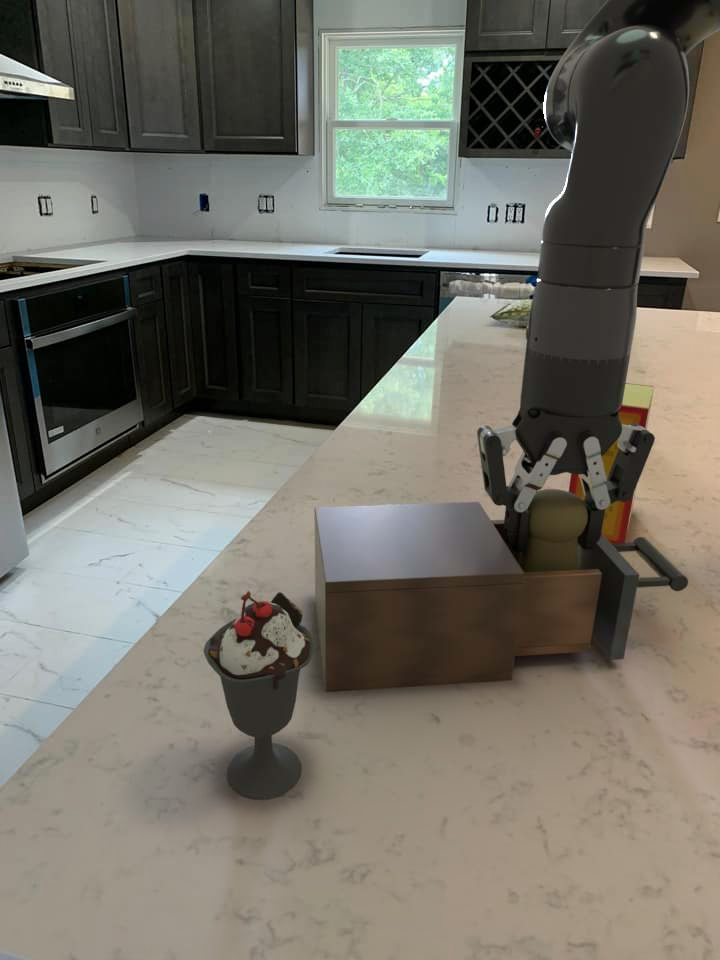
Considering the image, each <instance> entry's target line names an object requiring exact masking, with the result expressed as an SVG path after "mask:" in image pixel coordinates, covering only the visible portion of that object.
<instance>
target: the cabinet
mask: <svg viewBox="0 0 720 960" xmlns="http://www.w3.org/2000/svg"><path fill="white" fill-rule="evenodd" d="M491 520H492V519H491V518H490V517H489V515H488V514H487V512H486V511H485V509H484V508H483V506H482V504H481V503H480V501H464V502H461V501H460V502H459V501H458V502H434V503H406V504H404V503H403V504H377V505H373V504H372V505H349V506H346V505H345V506H322V507H321V506H319V507H318V506H317V507H314V596H315V597H314V603H315V613H316V622H317V629H318V639H319V647H320V656H321V666H322V674H323V683H324V692H325V693H333V692H334V693H336V692H349V691H351V692H352V691H364V690H380V689H382V690H383V689H398V688H409V687H410V688H413V687H415V688H416V687H429V686H444V685H445V686H446V685H458V684H459V685H461V684H475V683H476V684H477V683H490V682H491V683H492V682H493V683H494V682H505V681H506V682H508V681H509V682H510V681H512V680H513V675H514V666H515V659H516V656H515V651H516V643H517V634H518V626H519V617H520V609H521V601H522V592H523V583H524V574H525V573H524V572H523V570H522V568H521V567H520V565H519V564H518V562H517V561H516V559H515V557H514V556H513V554H512V553H511V551H510V550H509V548H508V547H507V545H506V543H505V542H504V540H503V539H502V537H501V536H500V534H499V533H498V531H497V529H496V528H495V526H494V525H493V523H492V522H491Z"/></svg>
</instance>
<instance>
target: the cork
mask: <svg viewBox="0 0 720 960" xmlns="http://www.w3.org/2000/svg"><path fill="white" fill-rule="evenodd" d="M527 510H528V511H529V512H530V515H529V523H528V531H527V539H526V548H525V551H524V552H521V553H520V557H519V560H518V564H519V565H520V567H521V568H522V570H523V572H543V571H564V570H578V536H580V535H581V534H582V532H583V531H584V529H585V526H586V524H587V519H588V514H587V508H586V505H585V503H584V501H583V500H582V499H581V498H580V497H578V496H576V495H575V494H573V493H570V492H569V491H567V490H563V489H558V488H557V489H556V488H544V489H539V490H538V491H537V492H536V494H535V496H534V498H533V500H532V502H531V503H530V505H529V507H528V509H527Z"/></svg>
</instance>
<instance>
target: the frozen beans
mask: <svg viewBox="0 0 720 960" xmlns="http://www.w3.org/2000/svg"><path fill="white" fill-rule="evenodd" d="M532 300H533V298H531V299H530V298H529V299H528V298H527V299H526V298H525V299H520V300H517V301H513V302H512V303H510V302H509V303H507V304H506V305H504V306H502V307H501V308H500V309H499V310H497V311H495V312H494V313H493V314H491V315H489V318H492V319H493V320H495V321H497V322H499V323H502V324H507V325H513V326H520V327H525V328H527V327H528V324H529V316H530V309H531V304H532Z"/></svg>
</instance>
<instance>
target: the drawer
mask: <svg viewBox="0 0 720 960" xmlns="http://www.w3.org/2000/svg"><path fill="white" fill-rule="evenodd" d="M490 520H491V522H492V523H493V525H494V526H495V528H496V529H497V531H498V533H499V534H500V536H501V537H502V539H503V540H504V542H505V543H506V545H507V547H508V548H509V550H510V551H511V553H512V554H513V556H514V557H515V559H516V561H517V562H518V560H519V557H520V553H521V552H515V551H514V549H513V548H512V546H511V545H509V543H508V542H507V540H506V539H505V537H504V534H503V528H504V519H490ZM622 552H624V553H625V552H635V553H636V554H637V555H638V556H639V557H640V558H641V559H642V560H643V561H644V562H645V563H646V564H647V565H648V566H649V568H650V569H652V571H653V572H654V573H655V574H656V575H657V576H651V577H650V576H649V577H640V573H639V572H638V571H637V570H636V569H635V568H634V567H633V566H632V565H631V563H630V562H629V561H628V560H627V559H626V558H625V557H624V556H623V555H622V554H621V553H622ZM524 573H525V574H524V583H523V592H522V601H521V609H520V617H519V626H518V634H517V643H516V651H515V657H521V656H538V655H539V656H540V655H555V654H572V653H588V652H590V650H591V642H592V637H593V639H594V640H595V642H596V643H597V644H598V645H599V647H600V649H601V650H602V652H603V653H604V654H605V656H606V658H608V660H609V661H618V660H624V658H625V654H626V649H627V643H628V638H629V634H630V633H629V631H630V627H631V622H632V615H633V611H634V606H635V601H636V595H637V590H638V588H655V587H669V588H670V589H671V590H672V591H673V592H682V591H683V590H685V589H686V588H687V587H688V584H689V579H688V577H687V576H686V575H685V574H684V573H683V572H682V571H681V570H680V569H679V568H678V567H677V566H675V564H674V563H672V561H670V560H669V559H668V557H666V555H664V554H663V553H662V552H661V551H660V550H659V549H658V548H657V547H656V546H655V545H654V544H653V543H651V541H649V539H648V538H646V537H645V536H638V537H637V538H635V539H634V540H633V541H632V542H625V543H613V544H611V543H610V542H609V541H608V540H607V539H606V538H605V537H604V536H603V535H602V533H601V537H600V539H599V541H598V542H594V546H593V549H582V548H581V546H580V545H579V544H578V570H564V571H543V572H524Z"/></svg>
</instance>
